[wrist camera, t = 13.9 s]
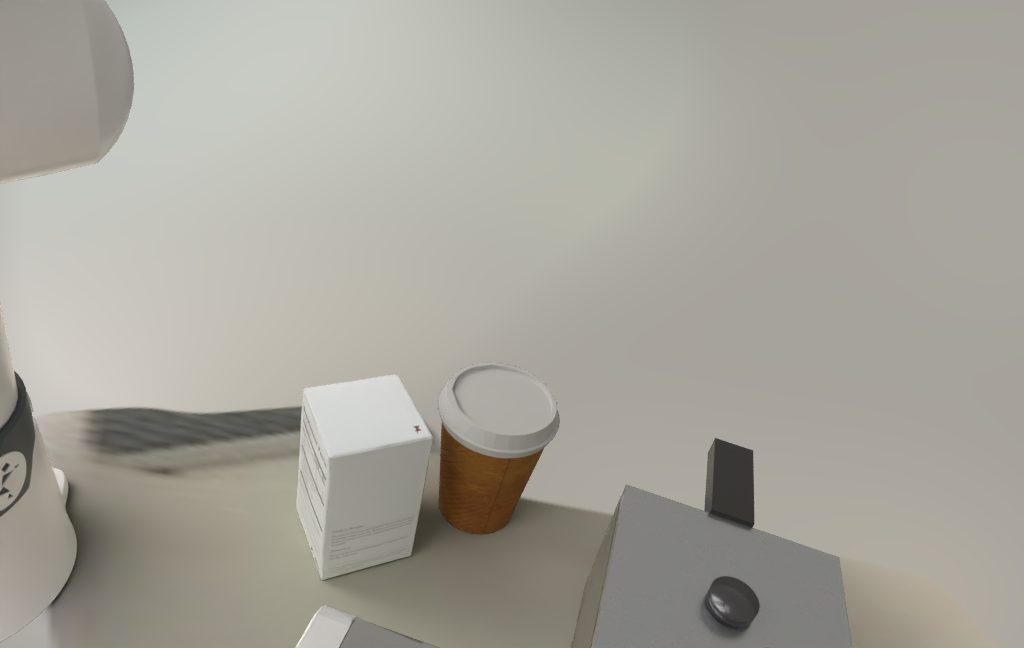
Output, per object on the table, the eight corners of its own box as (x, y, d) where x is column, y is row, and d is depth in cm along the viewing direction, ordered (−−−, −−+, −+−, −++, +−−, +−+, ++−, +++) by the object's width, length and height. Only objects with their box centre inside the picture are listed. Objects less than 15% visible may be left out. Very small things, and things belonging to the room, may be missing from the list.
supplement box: (382, 489, 63) (400, 371, 56) (413, 558, 58) (437, 437, 51) (293, 508, 59) (300, 384, 53) (317, 583, 54) (329, 457, 48)
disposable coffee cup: (437, 452, 68) (459, 346, 61) (539, 483, 67) (571, 379, 61) (403, 529, 60) (423, 416, 53) (517, 565, 59) (552, 455, 53)
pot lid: (584, 683, 41) (594, 660, 40) (634, 428, 60) (643, 407, 59) (859, 787, 39) (879, 766, 38) (821, 490, 58) (833, 470, 57)
